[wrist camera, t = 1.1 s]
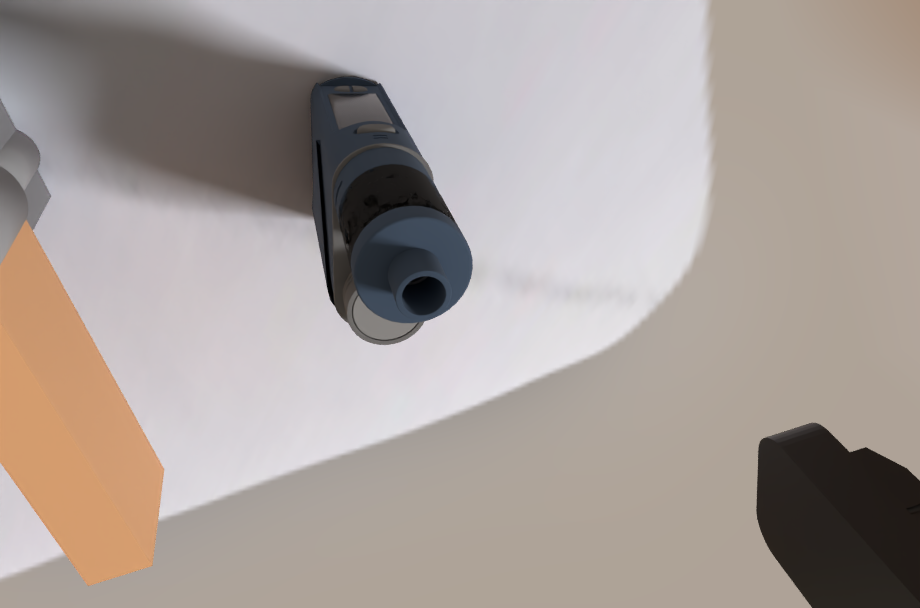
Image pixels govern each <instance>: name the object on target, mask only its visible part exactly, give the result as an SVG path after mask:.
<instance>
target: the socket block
mask: <svg viewBox="0 0 920 608" xmlns="http://www.w3.org/2000/svg"><path fill="white" fill-rule="evenodd" d="M39 165H40V153H39V150H38V148H37V146H36V144H35V143H34V142H33V140H32V139H31V138H29V137H28V136H27V135H25V134H24V133H22V132H20V131H18V130H16V128H15V126H14V124H13V122H12V120H11V119H10V117H9V115H8V113H7V111H6V109H5V107H4V105H3V103H2V101H1V99H0V166H1V167H3V168H4V169H6V170H7V171H8V172H9V173H11V174H12V175H13V176H14V177H15V178H16V179H17V181H18V182H19V183H20V185H21V186H22V188H23V190H24V192H25V194H26V197H27V201H28V215H27V219H26V220H27V222H28V223H29V225H30V227H31V229H32V231H33V229H34V227H35V225H36V224H37V222H38V220H39V218H40V216H41V214H42V212H43V210H44V209H45V207H46V205H47V203H48V201H49V199H50V197H51V195H50V193H49V191H48V189H47V187H46V186H45V184H44V182H43V180H42V178H41V176H40V174H39V172H38V170H37V169H38V167H39Z"/></svg>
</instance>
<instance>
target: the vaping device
mask: <svg viewBox="0 0 920 608" xmlns="http://www.w3.org/2000/svg"><path fill="white" fill-rule="evenodd" d="M311 131H312V163H313V202H312V210H313V215H314V221H315V226H316V231H317V236H318V242H319V247H320V252H321V257H322V263H323V268H324V273H325V278H326V284H327V288H328V293H329V297H330V300H331V302H332V303H333V304H334V306H335V307H336V310H337V312H338V313H339V315H340V316H341V317H342V318H343V319H344V320H345V321H346V322H347V323H349V325H350V327H351V328H352V330H353V331H354V332H355V334H356V335H357V336H359V337H360V338H361V339H363V340H365V341H367V342H370V343H373V344H379V345H389V344H395V343H398V342H401V341H403V340H406V339H408V338H409V337H411V336H412V335H414V334H415V333H416V332H417V331H418V330H419V329H420V327H421V326H422V325H423V323H424V321H427V320H430V319H433V318H435V317H437V316H439V315H441V314H443V313H444V312H446V311H447V310H449V309H450V308H451V307H452V306H453V305H455V304H456V303H457V302H458V300H459V299H460V298H461V297H462V295H463V294H464V292H465V290H466V289H467V287H468V284H469V282H470V279H471V274H472V255H471V251H470V248H469V246H468V244H467V241H466V240H465V238H464V236H463V234H462V232H461V231H460V229H459V228H458V225H457V224H456V222H454V221H455V220H454V218H453V216H452V215H451V213H450V211H449V209H448V207H447V206H446V204H445V202H444V200H443V198H442V197H441V195H440V194H439V191H438V190H437V188H436V186H435V184H434V182H433V175H432V171H431V169H430V167H429V165H428V163H427V162H426V161H425V160H424V159H423V157H422V155H421V154H420V152H419V150H418V148H417V146H416V145H415V143H414V141H413V139H412V138H411V136H410V134H409V132H408V131H407V129H406V127H405V125H404V124H403V122H402V120H401V118H400V117H399V115H398V113H397V111H396V110H395V108H394V106H393V104H392V103H391V101H390V99H389V97H388V96H387V94H386V92H385V90H384V88H383V87H382V85H381V84H380V83H379V84H378V85H376V84H374V83H373V82H370V81H368V80H365V79H362V78H357V77H340V78H335V79H331V80H328V81H326V82H324V83H322V84H321V85H319V84H318V83H316V85H315V86H314V88H313V90H312V94H311ZM443 211H444V213H443ZM447 211H448V212H447ZM444 214H445V215H444ZM447 216H448V217H447ZM450 216H451V217H450ZM449 217H450V218H449ZM451 219H452V220H451Z"/></svg>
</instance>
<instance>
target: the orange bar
mask: <svg viewBox="0 0 920 608" xmlns="http://www.w3.org/2000/svg"><path fill="white" fill-rule="evenodd" d="M27 215H28V201H27V197H26V194H25V192H24V190H23V188H22V186H21V185H20V183H19V182H18V181H17V179H16V178H15V177H14V176H13V175H12V174H11V173H9V172H8V171H7V170H6V169H4V168H3V167H1V166H0V463H1V464H2V465H3V467H4V468H5V470H6V471H7V472H8V474H9V475H10V477H11V478H12V479H13V481H14V482H15V484H16V485H17V487H18V488H19V489H20V491H21V492H22V494H23V495H24V496H25V498H26V499H27V501H28V502H29V503H30V505H31V506H32V508H33V509H34V511H35V512H36V513H37V515H38V516H39V518H40V519H41V520H42V522H43V523H44V525H45V526H46V527H47V529H48V530H49V532H50V533H51V535H52V536H53V537H54V539H55V540H56V542H57V543H58V544H59V546H60V547H61V549H62V550H63V551H64V553H65V554H66V556H67V557H68V558H69V560H70V561H71V563H72V564H73V565H74V567H75V568H76V570H77V571H78V572H79V574H80V575H81V577H82V578H83V580H84V581H85V582H86V584H87V585H88V586H90V585H92V584H96V583H99V582H102V581H106V580H109V579H112V578H115V577H118V576H121V575H125V574H128V573H131V572H134V571H137V570H141V569H144V568H147V567H150V566H152V564H153V556H154V548H155V540H156V532H157V524H158V516H159V507H160V499H161V491H162V483H163V475H164V468H163V466H162V465H161V463H160V461H159V459H158V457H157V456H156V454H155V452H154V450H153V448H152V446H151V445H150V443H149V441H148V439H147V437H146V436H145V434H144V432H143V430H142V428H141V427H140V425H139V423H138V421H137V419H136V417H135V416H134V414H133V412H132V410H131V408H130V407H129V405H128V403H127V401H126V399H125V397H124V396H123V394H122V392H121V390H120V388H119V387H118V385H117V383H116V381H115V379H114V378H113V376H112V374H111V372H110V370H109V368H108V367H107V365H106V363H105V361H104V359H103V358H102V356H101V354H100V352H99V350H98V349H97V347H96V345H95V343H94V341H93V339H92V338H91V336H90V334H89V332H88V330H87V329H86V327H85V325H84V323H83V321H82V320H81V318H80V316H79V314H78V312H77V310H76V309H75V307H74V305H73V303H72V301H71V300H70V298H69V296H68V294H67V292H66V291H65V289H64V287H63V285H62V283H61V281H60V280H59V278H58V276H57V274H56V272H55V271H54V269H53V267H52V265H51V263H50V261H49V260H48V258H47V256H46V254H45V252H44V251H43V249H42V247H41V245H40V243H39V242H38V240H37V238H36V236H35V234H34V232H33V231H32V229H31V227H30V225H29V223H28V222H27V220H26V219H27Z"/></svg>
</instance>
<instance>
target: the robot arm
mask: <svg viewBox="0 0 920 608" xmlns="http://www.w3.org/2000/svg"><path fill="white" fill-rule="evenodd" d="M757 519H758V523H759V527H760V530H761V532H762V535H763V537H764V540H765V542H766V543H767V546H768V547H769V549H770V551H771V552H772V554H773V555H774V557H775V558H776V560H777V561H778V562H779V563H780V565H781V566H782V568H783V569H784V570H785V572H786V573H787V574H788V576H789V577H790V578H791V580H792V581H793V582H794V584H795V585H796V586H797V588H798V589H799V590H800V592H801V593H802V594H803V596H804V597H805V599H806V600H807V601H808V603H809V604H810V605H811V607H812V608H920V481H919V480H918V479H917V478H916V477H915V476H914V475H913V474H912V473H911V472H910V471H909V470H908V469H907V468H905V467H903V466H901V465H899V464H897V463H895V462H893V461H891V460H890V459H888V458H886V457H884V456H882V455H880V454H878V453H876V452H874V451H872V450H870V449H868V448H866V447H865V448H863V449H859V450H856V451H853V452H849V451H848V450H847V449H846V448H845V447H844V446H843V445H842V444H841V443H840V442H839V441H838V440H837V439H836V438H835V437H834V436H833V435H832V434H831V433H830V432H829V431H828V430H827V429H826V428H824V427H823V426H821V425H819V424H817V423H809V424H806V425H803V426H800V427H797V428H794V429H791V430H788V431H784V432H781V433H778V434H775V435H772V436H769V437H766V438H763V439H762V440H761V441H760V444H759V451H758V481H757Z"/></svg>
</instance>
